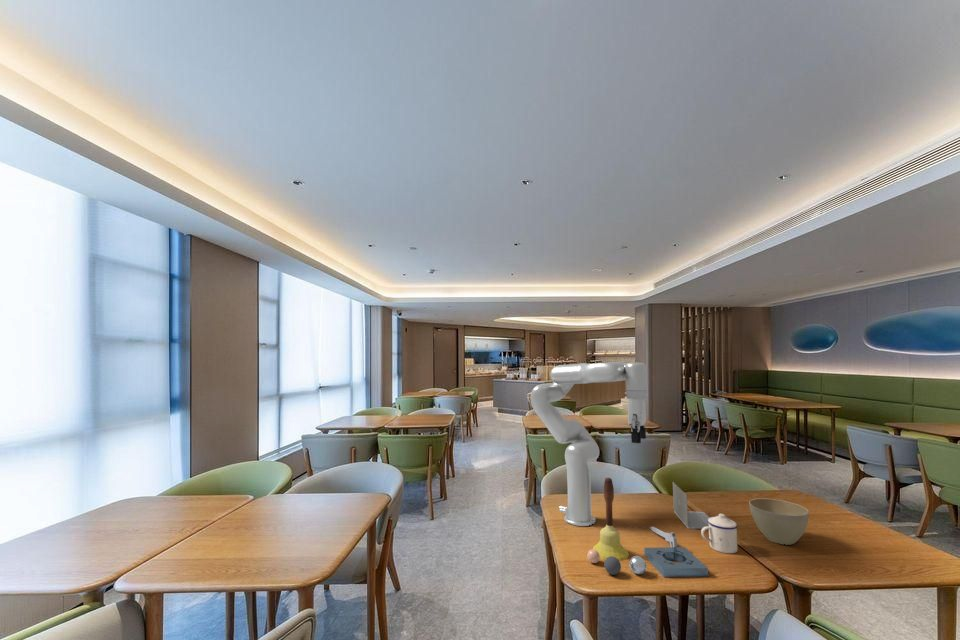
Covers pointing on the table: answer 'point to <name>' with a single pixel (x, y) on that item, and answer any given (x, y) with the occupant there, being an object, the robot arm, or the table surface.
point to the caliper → (666, 536)
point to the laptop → (682, 512)
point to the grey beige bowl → (779, 519)
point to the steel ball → (637, 565)
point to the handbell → (610, 530)
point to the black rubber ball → (612, 565)
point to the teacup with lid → (721, 534)
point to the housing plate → (672, 569)
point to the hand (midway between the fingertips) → (638, 440)
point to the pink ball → (593, 556)
